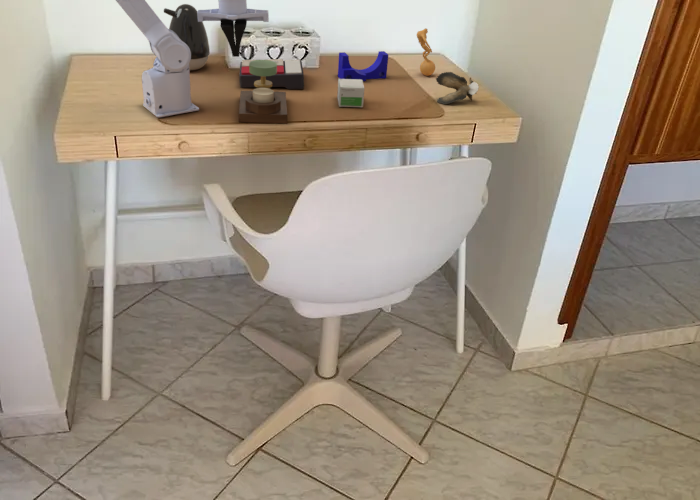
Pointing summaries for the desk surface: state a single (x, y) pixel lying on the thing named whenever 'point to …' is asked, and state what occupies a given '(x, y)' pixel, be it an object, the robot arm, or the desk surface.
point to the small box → (350, 93)
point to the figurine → (427, 65)
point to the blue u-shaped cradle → (372, 72)
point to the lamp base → (262, 109)
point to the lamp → (263, 72)
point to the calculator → (285, 77)
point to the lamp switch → (263, 95)
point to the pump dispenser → (190, 34)
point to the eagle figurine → (456, 87)
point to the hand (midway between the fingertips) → (236, 55)
